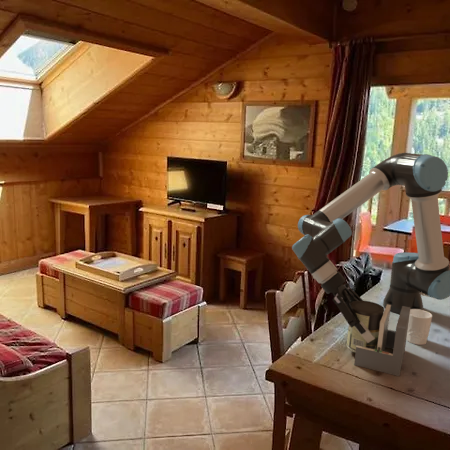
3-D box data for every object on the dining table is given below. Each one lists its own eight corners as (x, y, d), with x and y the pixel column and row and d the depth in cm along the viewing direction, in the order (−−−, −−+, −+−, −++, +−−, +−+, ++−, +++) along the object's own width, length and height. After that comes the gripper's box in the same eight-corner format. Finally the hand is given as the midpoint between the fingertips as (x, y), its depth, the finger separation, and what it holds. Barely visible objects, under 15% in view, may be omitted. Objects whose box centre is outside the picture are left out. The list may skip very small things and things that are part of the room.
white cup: (427, 337, 160) (431, 311, 158) (429, 347, 153) (433, 319, 150) (403, 333, 162) (406, 307, 160) (404, 343, 155) (407, 315, 153)
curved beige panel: (385, 344, 151) (390, 305, 148) (378, 369, 135) (383, 326, 132) (382, 343, 152) (386, 304, 149) (373, 368, 136) (379, 325, 133)
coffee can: (377, 342, 151) (382, 302, 148) (381, 357, 141) (386, 314, 138) (345, 338, 153) (349, 298, 150) (346, 352, 143) (351, 310, 140)
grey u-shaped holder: (404, 350, 150) (410, 307, 147) (399, 376, 134) (405, 329, 131) (364, 341, 155) (368, 299, 152) (354, 365, 139) (359, 319, 136)
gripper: (328, 274, 159) (370, 326, 156) (310, 294, 139) (358, 354, 136) (345, 262, 156) (388, 315, 153) (329, 281, 136) (378, 342, 133)
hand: (374, 333), depth 144 cm, fingers closed on coffee can, 10 cm apart
